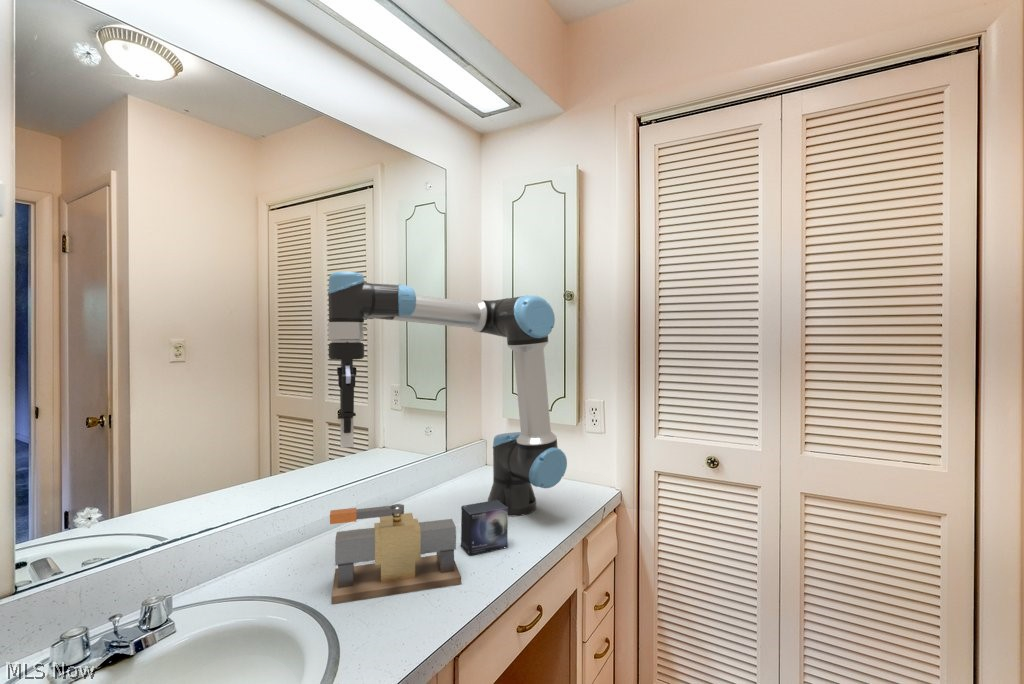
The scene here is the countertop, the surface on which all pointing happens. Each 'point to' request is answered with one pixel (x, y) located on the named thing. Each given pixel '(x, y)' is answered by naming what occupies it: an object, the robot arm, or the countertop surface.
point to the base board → (371, 586)
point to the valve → (395, 547)
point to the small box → (484, 527)
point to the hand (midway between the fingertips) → (347, 446)
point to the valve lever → (364, 513)
